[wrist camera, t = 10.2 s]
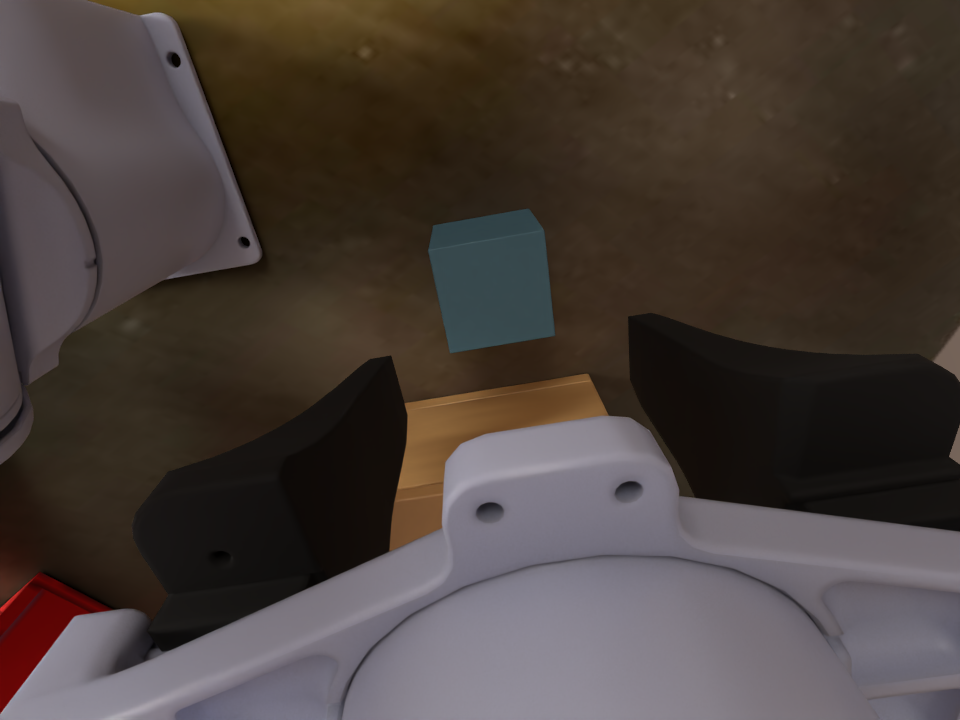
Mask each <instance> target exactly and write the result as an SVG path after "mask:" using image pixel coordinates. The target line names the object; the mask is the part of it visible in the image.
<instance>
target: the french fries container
mask: <svg viewBox="0 0 960 720" xmlns="http://www.w3.org/2000/svg"><path fill="white" fill-rule="evenodd" d="M111 610H113V609H111V608H109V607H107V606H105V605H103V604H101V603H99V602H97V601H95V600H93V599H91V598H89V597H88V596H86V595H84V594H82V593H80V592H78V591H76V590H74V589H72V588H70V587H68V586H66V585H64V584H62V583H61V582H59V581H57V580H55V579H53V578H51V577H49V576H47V575H45V574H43V573H41V572H39V573H38V574H37V575H36V576H34V577H33V578H32V579H31V580H30V581H29V582H28V583H27V584H26V585H25V586H24V587H22V588H21V589H20V590H19V591H18V592H17V593H16V594H15V595H14V596H13V597H12V598H10V599H9V600H8V601H7V602H6V603H5V604H4V605H3V606H2V607H1V608H0V714H1V712H2V711H3V710H4V708H5V707H6V706H7V704H8V703H9V702H10V700H11V699H12V698H13V696H14V695H15V694H16V693H17V691H18V690H19V689H20V687H21V686H22V685H23V683H24V682H25V681H26V679H27V678H28V677H29V675H30V674H31V673H32V671H33V670H34V669H35V668H36V666H37V665H38V664H39V662H40V661H41V660H42V658H43V657H44V656H45V654H46V653H47V652H48V650H49V649H50V648H51V647H52V645H53V644H54V643H55V641H56V640H57V639H58V637H59V636H60V635H61V633H62V632H63V631H64V629H65V628H66V627H67V626H68V624H69V623H70V622H71V620H72V619H73V618H74V617H75V616H78V615H84V614H90V613H97V612H104V611H111Z"/></svg>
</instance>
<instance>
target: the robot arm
mask: <svg viewBox="0 0 960 720" xmlns="http://www.w3.org/2000/svg"><path fill="white" fill-rule="evenodd" d="M174 53H176V54H178V56H179V57H180V60H181V64H180V66H179V67H178V68H177V67H175V66H174V64H173V63H172V59H171V57H172V55H173V54H174ZM242 237H246V238H248V240H249V241H250V246H245V245H244V244H243V243H242V241H241V238H242ZM261 258H262V249H261V246H260V244H259V241H258V238H257V235H256V233H255V230H254V227H253V225H252V222H251V219H250V217H249V214H248V211H247V209H246V206H245V203H244V200H243V198H242V195H241V192H240V190H239V187H238V184H237V182H236V179H235V176H234V174H233V171H232V168H231V165H230V163H229V160H228V157H227V155H226V152H225V149H224V147H223V144H222V141H221V139H220V136H219V133H218V130H217V128H216V125H215V122H214V120H213V117H212V114H211V112H210V109H209V106H208V104H207V101H206V98H205V95H204V93H203V90H202V87H201V85H200V82H199V79H198V77H197V74H196V71H195V68H194V66H193V63H192V60H191V58H190V55H189V52H188V50H187V47H186V44H185V42H184V39H183V36H182V33H181V31H180V28H179V26H178V24H177V22H176V21H175V20H174V19H173V18H172V17H171V16H168V15H166V14H164V13H151V14H146V15H141V16H138V15H135V14H132V13H128V12H125V11H121V10H118V9H114V8H111V7H107V6H104V5H100V4H97V3H94V2H90V1H87V0H0V464H2V463H3V462H4V461H6V460H7V459H8V458H10V457H11V456H12V455H13V454H14V453H15V452H16V451H17V449H18V448H19V447H20V446H21V445H22V444H23V443H24V441H25V440H26V438H27V436H28V435H29V433H30V431H31V427H32V424H33V420H34V415H33V407H32V404H31V401H30V398H29V395H28V392H27V389H26V387H24V386H25V385H29V384H30V383H32V382H33V381H35V380H36V379H38V378H39V377H41V376H43V375H44V374H46V373H47V372H49V371H50V370H52V369H53V368H55V367H57V366H58V364H59V350H60V346H61V344H62V342H63V341H64V339H65V338H66V337H67V336H68V335H69V334H71V333H73V332H75V331H76V330H78V329H80V328H82V327H83V326H85V325H87V324H88V323H90V322H92V321H94V320H95V319H97V318H99V317H100V316H102V315H104V314H106V313H107V312H109V311H111V310H112V309H114V308H116V307H118V306H119V305H121V304H123V303H124V302H126V301H128V300H130V299H131V298H133V297H135V296H136V295H138V294H140V293H142V292H143V291H145V290H147V289H148V288H150V287H152V286H154V285H155V284H157V283H159V282H160V281H162V280H165V279H171V278H177V277H182V276H188V275H194V274H199V273H205V272H211V271H217V270H222V269H228V268H234V267H239V266H245V265H251V264H254V263H257V262H258V261H259V260H260V259H261ZM628 328H629V362H630V381H631V383H632V386H633V388H634V391H635V393H636V395H637V397H638V400H639V402H640V404H641V406H642V408H643V409H644V411H645V413H646V414H647V416H648V417H649V419H650V421H651V422H652V424H653V425H654V427H655V428H656V430H657V432H658V433H659V435H660V436H661V438H662V439H663V441H664V442H665V444H666V445H667V447H668V448H669V450H670V452H671V453H672V455H673V456H674V458H675V459H676V461H677V463H678V464H679V466H680V468H681V469H682V471H683V473H684V475H685V477H686V479H687V481H688V483H689V485H690V487H691V489H692V491H693V493H694V495H695V498H691V497H683V496H679V488H678V485H677V482H676V479H675V476H674V473H673V470H672V468H671V466H670V464H669V463H668V461H667V459H666V457H665V456H664V454H663V452H662V451H661V449H660V447H659V446H658V444H657V442H656V440H655V439H654V437H653V435H652V434H651V432H650V430H648V429H647V428H645V427H644V426H642V425H641V424H639V423H638V422H636V421H634V420H633V419H631V418H630V417H617V416H597V417H590V418H584V419H577V420H571V421H565V422H558V423H552V424H545V425H539V426H533V427H526V428H520V429H513V430H507V431H501V432H494V433H488V434H484V435H481V436H479V437H476V438H474V439H471V440H469V441H466V442H464V443H461V444H460V445H459V446H458V447H457V449H456V450H455V451H454V452H453V453H452V455H451V456H450V457H449V458H448V459H447V461H446V462H445V473H444V486H443V508H442V528H441V529H439V530H436V531H434V532H432V533H430V534H428V535H425V536H423V537H421V538H419V539H417V540H414V541H412V542H410V543H408V544H405V545H403V546H401V547H399V548H397V549H394V550H392V551H390V552H389V549H390V536H391V524H392V515H393V508H394V502H395V497H396V492H397V488H398V483H399V478H400V473H401V468H402V463H403V458H404V453H405V448H406V443H407V421H408V414H407V411H406V407H405V404H404V400H403V396H402V393H401V389H400V386H399V382H398V378H397V375H396V371H395V367H394V364H393V360H392V357H391V356H386V357H380V358H374V359H370V360H368V361H367V362H365V363H364V364H363V365H361V366H360V367H359V368H358V369H357V370H355V371H354V372H353V373H352V374H351V375H350V376H349V377H347V378H346V379H345V380H344V381H343V382H342V383H340V384H339V385H338V386H337V387H336V388H335V389H333V390H332V391H331V392H329V393H328V394H327V395H326V396H324V397H323V398H322V399H321V400H319V401H318V402H317V403H315V404H314V405H313V406H311V407H310V408H309V409H307V410H306V411H304V412H303V413H301V414H300V415H298V416H297V417H295V418H293V419H292V420H290V421H289V422H287V423H285V424H284V425H282V426H280V427H278V428H276V429H274V430H272V431H270V432H269V433H267V434H265V435H263V436H261V437H259V438H257V439H255V440H253V441H251V442H249V443H246V444H244V445H242V446H240V447H237V448H235V449H232V450H230V451H227V452H225V453H222V454H220V455H217V456H215V457H212V458H209V459H206V460H203V461H200V462H197V463H194V464H191V465H188V466H185V467H182V468H179V469H175V470H172V471H169V472H167V474H166V475H165V476H164V477H163V479H162V480H161V481H160V482H159V484H158V485H157V486H156V488H155V489H154V490H153V491H152V493H151V494H150V495H149V496H148V498H147V499H146V500H145V501H144V503H143V504H142V505H141V507H140V508H139V509H138V510H137V512H136V513H135V516H134V520H133V523H132V532H133V539H134V541H135V543H136V545H137V547H138V550H139V552H140V553H141V555H142V556H143V558H144V559H145V561H146V562H147V564H148V565H149V567H150V568H151V570H152V571H153V573H154V574H155V576H156V577H157V579H158V580H159V582H160V583H161V584H162V586H163V587H164V589H165V590H166V592H167V593H168V594H169V595H168V597H167V598H166V600H165V602H164V603H163V605H162V607H161V608H160V610H159V612H158V613H157V615H156V617H155V618H154V620H153V622H152V620H151V619H150V618H149V616H147V615H146V614H145V613H144V612H142V611H139V610H136V609H127V608H125V609H118V610H111V611H104V612H97V613H90V614H84V615H78V616H75V617H74V618H73V619H72V620H71V622H70V623H69V624H68V626H67V627H66V628H65V629H64V631H63V632H62V633H61V635H60V636H59V637H58V639H57V640H56V641H55V643H54V644H53V645H52V647H51V648H50V649H49V650H48V652H47V653H46V654H45V656H44V657H43V658H42V660H41V661H40V662H39V664H38V665H37V666H36V668H35V669H34V670H33V671H32V673H31V674H30V675H29V677H28V678H27V679H26V681H25V682H24V683H23V685H22V686H21V687H20V689H19V690H18V691H17V693H16V694H15V695H14V696H13V698H12V699H11V700H10V702H9V703H8V704H7V706H6V707H5V708H4V710H3V711H2V712H1V714H0V720H960V464H958V463H957V462H955V461H954V460H953V459H951V458H950V457H949V455H950V452H951V449H952V446H953V443H954V440H955V437H956V434H957V431H958V428H959V425H960V382H959V380H958V379H957V378H956V376H955V375H954V374H952V373H951V372H949V371H948V370H946V369H944V368H943V367H941V366H939V365H937V364H936V363H934V362H932V361H930V360H928V359H926V358H925V357H923V356H921V355H919V354H883V355H850V354H827V353H813V352H804V351H795V350H786V349H780V348H773V347H767V346H762V345H757V344H752V343H747V342H743V341H739V340H735V339H731V338H728V337H724V336H721V335H717V334H714V333H711V332H708V331H705V330H702V329H699V328H696V327H693V326H690V325H687V324H684V323H681V322H679V321H676V320H673V319H670V318H667V317H664V316H661V315H657V314H653V313H647V314H641V315H635V316H629V317H628ZM21 383H23V385H24V386H23V385H22V384H21Z"/></svg>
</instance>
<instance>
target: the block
mask: <svg viewBox="0 0 960 720" xmlns="http://www.w3.org/2000/svg"><path fill="white" fill-rule="evenodd" d="M428 253H429V257H430V262H431V267H432V271H433V276H434V281H435V285H436V290H437V295H438V299H439V304H440V308H441V313H442V318H443V322H444V327H445V332H446V336H447V341H448V346H449V350H450V353H455V352H461V351H468V350H474V349H480V348H486V347H492V346H498V345H504V344H510V343H516V342H522V341H528V340H534V339H540V338H546V337H552V336H555V328H554V319H553V309H552V299H551V290H550V280H549V270H548V261H547V251H546V242H545V232H544V229H543V228H542V227H541V225H540V224H539V222H538V221H537V219H536V218H535V217H534V215H533V214H532V212H531V211H530V210H529V209H523V210H518V211H512V212H506V213H501V214H495V215H489V216H484V217H478V218H472V219H467V220H461V221H455V222H450V223H444V224H438V225H434V226H433V230H432V235H431V240H430V244H429V249H428Z"/></svg>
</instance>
